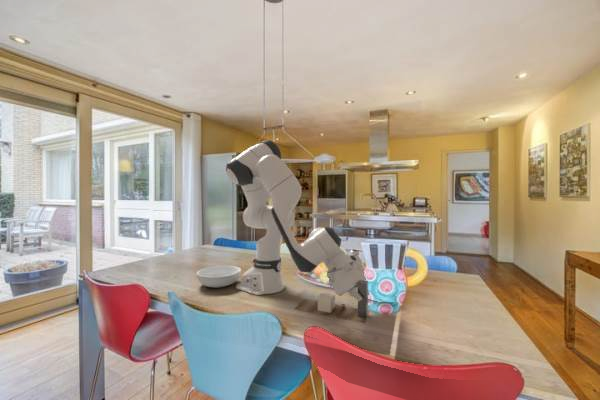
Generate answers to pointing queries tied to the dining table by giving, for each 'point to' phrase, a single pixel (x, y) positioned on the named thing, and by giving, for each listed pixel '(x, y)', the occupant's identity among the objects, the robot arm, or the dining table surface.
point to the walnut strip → (342, 306)
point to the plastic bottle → (356, 253)
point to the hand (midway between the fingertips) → (364, 297)
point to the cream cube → (326, 302)
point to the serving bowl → (218, 276)
